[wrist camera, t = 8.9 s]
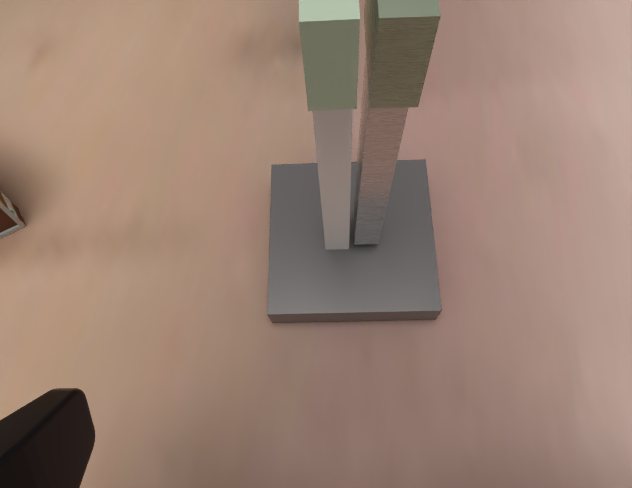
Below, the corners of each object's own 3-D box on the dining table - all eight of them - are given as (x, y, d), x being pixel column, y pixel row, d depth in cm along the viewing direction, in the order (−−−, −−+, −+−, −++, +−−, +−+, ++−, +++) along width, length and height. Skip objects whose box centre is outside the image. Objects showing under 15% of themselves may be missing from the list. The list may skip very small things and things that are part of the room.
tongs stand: (435, 319, 22) (585, 107, 8) (272, 322, 22) (158, 123, 8) (420, 176, 24) (517, -164, 11) (275, 180, 24) (192, -144, 11)
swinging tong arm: (380, 258, 21) (440, 16, 9) (353, 259, 21) (378, 17, 9) (376, 197, 22) (426, -90, 10) (351, 198, 22) (371, -88, 10)
